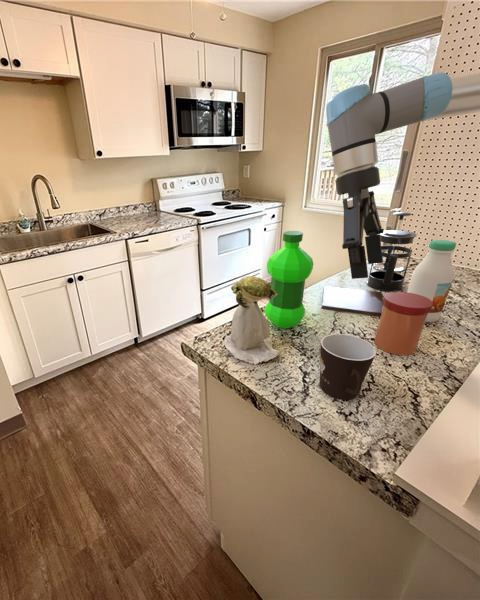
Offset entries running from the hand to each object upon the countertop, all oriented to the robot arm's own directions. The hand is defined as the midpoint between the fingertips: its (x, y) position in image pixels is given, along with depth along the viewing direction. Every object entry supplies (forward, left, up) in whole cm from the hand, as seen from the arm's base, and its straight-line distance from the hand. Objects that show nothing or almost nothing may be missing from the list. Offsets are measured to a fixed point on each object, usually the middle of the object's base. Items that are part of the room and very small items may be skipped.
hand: (368, 270), depth 68 cm
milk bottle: (-15, -18, -18) cm, 29 cm away
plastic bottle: (+16, -2, -18) cm, 24 cm away
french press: (-9, -37, -18) cm, 42 cm away
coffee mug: (+3, +22, -18) cm, 29 cm away
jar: (-8, 0, -18) cm, 19 cm away
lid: (-8, 0, -6) cm, 10 cm away
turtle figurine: (+21, +13, -18) cm, 31 cm away
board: (0, -22, -18) cm, 28 cm away
